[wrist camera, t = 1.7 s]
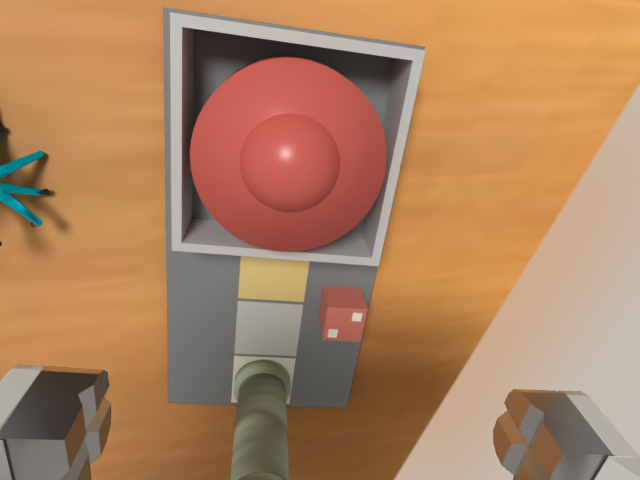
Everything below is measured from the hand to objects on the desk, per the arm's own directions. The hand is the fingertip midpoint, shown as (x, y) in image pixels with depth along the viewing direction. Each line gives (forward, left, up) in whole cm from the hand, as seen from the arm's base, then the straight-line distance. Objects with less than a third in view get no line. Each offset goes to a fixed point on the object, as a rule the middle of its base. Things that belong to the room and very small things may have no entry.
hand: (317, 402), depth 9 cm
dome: (0, 0, -22) cm, 22 cm away
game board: (0, -9, -24) cm, 26 cm away
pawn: (0, -21, -23) cm, 31 cm away
